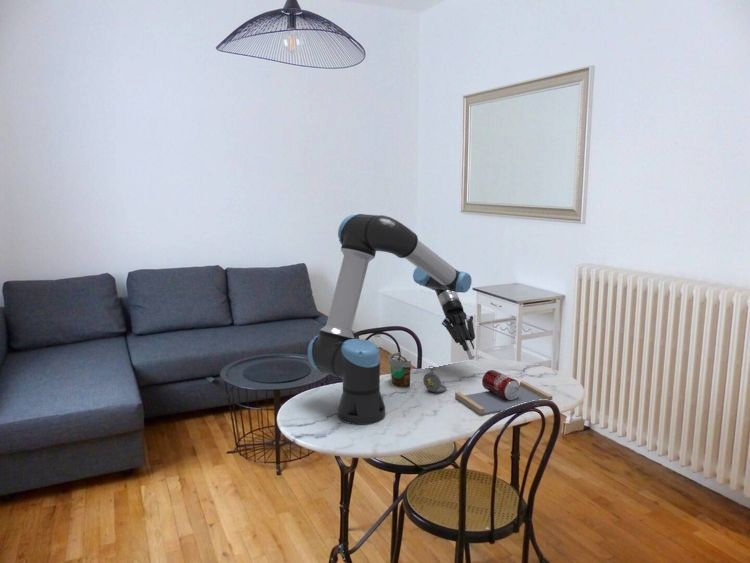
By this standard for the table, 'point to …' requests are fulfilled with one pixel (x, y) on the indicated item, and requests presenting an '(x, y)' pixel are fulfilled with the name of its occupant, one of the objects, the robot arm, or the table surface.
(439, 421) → the table surface
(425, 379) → the pocket watch
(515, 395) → the soda can
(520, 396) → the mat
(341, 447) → the table surface
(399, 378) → the food container
